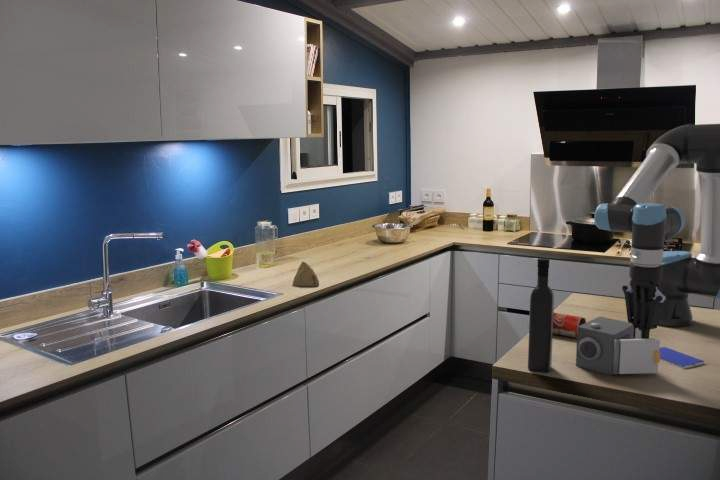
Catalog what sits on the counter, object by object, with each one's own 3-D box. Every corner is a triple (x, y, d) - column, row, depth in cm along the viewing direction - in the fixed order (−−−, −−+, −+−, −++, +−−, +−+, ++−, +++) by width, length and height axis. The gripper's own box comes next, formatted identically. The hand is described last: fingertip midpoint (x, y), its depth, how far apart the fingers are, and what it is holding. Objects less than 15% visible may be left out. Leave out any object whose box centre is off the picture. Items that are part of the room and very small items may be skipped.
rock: (326, 280, 261) (312, 272, 269) (317, 266, 256) (303, 259, 264) (308, 298, 258) (295, 290, 265) (298, 284, 253) (285, 277, 260)
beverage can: (547, 328, 201) (548, 309, 199) (585, 335, 194) (586, 314, 192) (540, 334, 195) (540, 314, 194) (578, 341, 188) (579, 320, 187)
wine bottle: (530, 363, 171) (533, 256, 166) (551, 366, 169) (556, 257, 164) (527, 370, 166) (530, 260, 161) (549, 373, 164) (553, 262, 158)
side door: (655, 371, 161) (657, 338, 160) (658, 373, 160) (661, 340, 158) (611, 372, 161) (613, 339, 159) (614, 375, 159) (616, 341, 158)
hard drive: (645, 350, 176) (683, 365, 165) (665, 346, 180) (704, 360, 169) (644, 356, 177) (683, 370, 165) (665, 351, 180) (704, 365, 169)
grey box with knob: (597, 353, 178) (599, 313, 176) (633, 362, 170) (636, 321, 168) (572, 367, 167) (574, 325, 165) (609, 377, 160) (612, 333, 158)
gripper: (615, 260, 163) (610, 346, 167) (655, 270, 151) (648, 362, 155) (637, 258, 166) (632, 342, 170) (678, 267, 154) (671, 358, 158)
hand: (640, 351), depth 163 cm, fingers closed
